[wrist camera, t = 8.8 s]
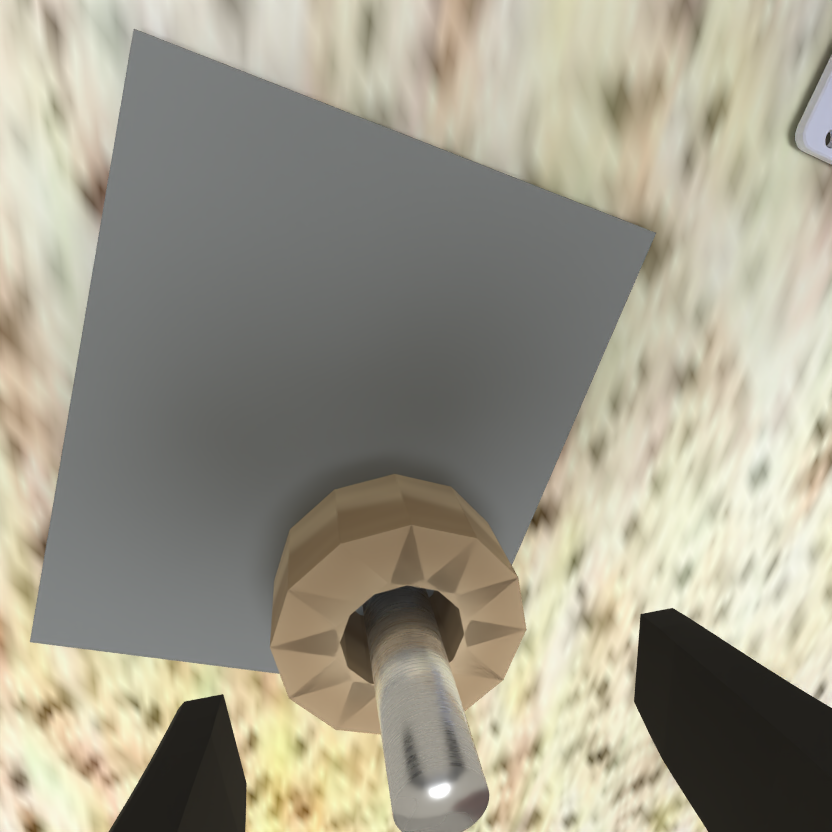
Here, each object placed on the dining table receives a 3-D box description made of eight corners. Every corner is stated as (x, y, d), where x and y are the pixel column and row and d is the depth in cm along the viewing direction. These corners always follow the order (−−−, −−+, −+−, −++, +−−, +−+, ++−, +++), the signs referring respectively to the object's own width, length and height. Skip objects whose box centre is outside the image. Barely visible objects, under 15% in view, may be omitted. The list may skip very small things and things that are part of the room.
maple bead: (524, 503, 20) (560, 555, 17) (451, 672, 22) (473, 744, 19) (312, 454, 18) (314, 504, 15) (254, 645, 20) (246, 720, 17)
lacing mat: (644, 231, 18) (655, 232, 17) (451, 683, 23) (455, 695, 22) (140, 35, 14) (133, 28, 13) (38, 628, 19) (30, 642, 18)
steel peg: (413, 540, 19) (481, 756, 12) (424, 590, 20) (495, 822, 13) (351, 556, 19) (383, 786, 12) (366, 606, 20) (403, 851, 13)
